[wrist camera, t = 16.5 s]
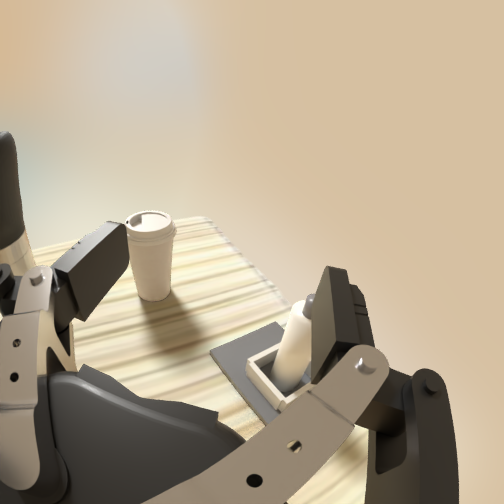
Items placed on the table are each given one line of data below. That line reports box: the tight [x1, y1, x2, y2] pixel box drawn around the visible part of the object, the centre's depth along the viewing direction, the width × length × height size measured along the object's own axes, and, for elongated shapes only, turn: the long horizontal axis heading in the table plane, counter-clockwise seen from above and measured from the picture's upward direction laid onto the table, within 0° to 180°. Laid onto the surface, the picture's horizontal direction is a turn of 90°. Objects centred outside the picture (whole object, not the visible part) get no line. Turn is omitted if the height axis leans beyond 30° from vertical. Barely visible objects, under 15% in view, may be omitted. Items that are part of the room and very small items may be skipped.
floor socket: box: [210, 321, 316, 426], centre depth 36 cm, size 20×13×4 cm, turn 36°
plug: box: [269, 294, 315, 392], centre depth 32 cm, size 4×4×16 cm
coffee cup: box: [125, 210, 177, 302], centre depth 46 cm, size 10×10×15 cm
